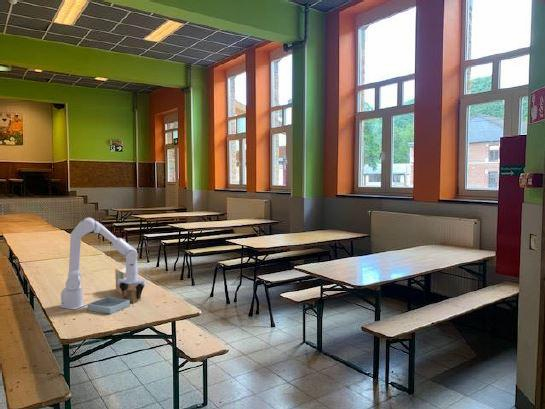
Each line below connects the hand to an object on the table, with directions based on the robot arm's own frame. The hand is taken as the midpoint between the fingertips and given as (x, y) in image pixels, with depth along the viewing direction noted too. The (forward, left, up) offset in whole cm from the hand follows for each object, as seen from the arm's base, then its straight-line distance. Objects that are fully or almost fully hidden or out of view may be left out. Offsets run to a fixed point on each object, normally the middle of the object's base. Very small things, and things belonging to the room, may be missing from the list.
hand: (132, 298), depth 213 cm
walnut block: (0, 0, -2) cm, 2 cm away
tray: (-3, -13, -2) cm, 13 cm away
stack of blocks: (-12, +10, -2) cm, 15 cm away
